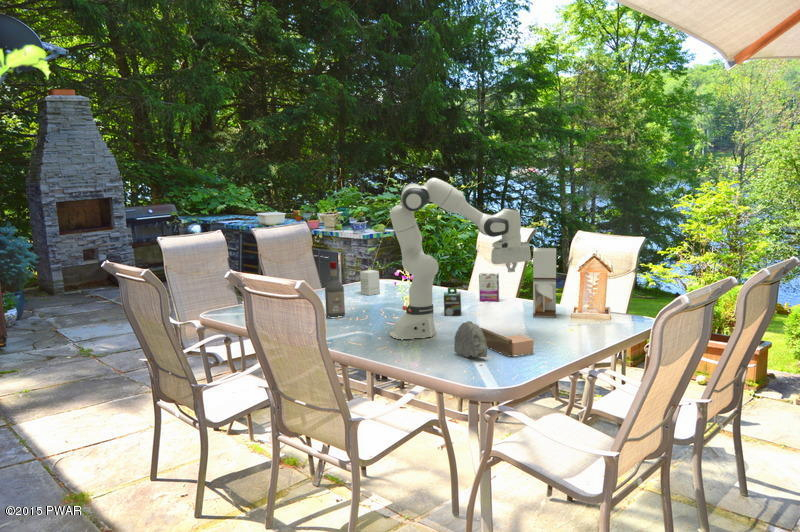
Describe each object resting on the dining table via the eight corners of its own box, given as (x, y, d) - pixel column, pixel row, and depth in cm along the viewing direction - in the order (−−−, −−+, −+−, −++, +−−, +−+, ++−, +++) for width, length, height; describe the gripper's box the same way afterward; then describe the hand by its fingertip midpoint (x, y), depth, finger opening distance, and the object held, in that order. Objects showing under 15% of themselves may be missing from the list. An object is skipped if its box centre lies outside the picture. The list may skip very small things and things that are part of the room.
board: (507, 356, 261) (507, 340, 260) (477, 343, 282) (477, 328, 281) (511, 356, 262) (511, 339, 261) (481, 342, 283) (481, 327, 282)
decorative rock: (452, 353, 268) (452, 319, 266) (465, 350, 271) (464, 317, 269) (477, 362, 254) (476, 326, 252) (489, 359, 258) (489, 324, 255)
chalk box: (461, 312, 345) (460, 285, 342) (461, 315, 336) (460, 288, 333) (444, 312, 346) (443, 285, 343) (443, 316, 337) (443, 288, 334)
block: (513, 357, 261) (513, 343, 260) (500, 351, 270) (500, 337, 269) (533, 353, 265) (533, 339, 264) (519, 348, 274) (519, 334, 273)
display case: (533, 317, 327) (533, 251, 322) (533, 313, 337) (533, 248, 332) (555, 318, 324) (556, 251, 319) (555, 313, 334) (556, 248, 329)
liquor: (346, 317, 341) (343, 262, 336) (329, 319, 338) (327, 264, 333) (341, 313, 349) (338, 260, 345) (325, 315, 346) (322, 261, 341)
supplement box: (371, 292, 409) (371, 269, 407) (380, 293, 402) (379, 270, 400) (360, 294, 404) (359, 271, 401) (368, 296, 397) (368, 272, 394)
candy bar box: (499, 300, 372) (499, 273, 369) (498, 302, 367) (498, 274, 365) (480, 299, 375) (480, 272, 373) (479, 301, 370) (478, 274, 368)
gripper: (525, 240, 300) (525, 269, 302) (489, 243, 292) (489, 273, 294) (533, 241, 294) (533, 270, 297) (496, 245, 286) (497, 275, 288)
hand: (511, 272), depth 295 cm, fingers closed
